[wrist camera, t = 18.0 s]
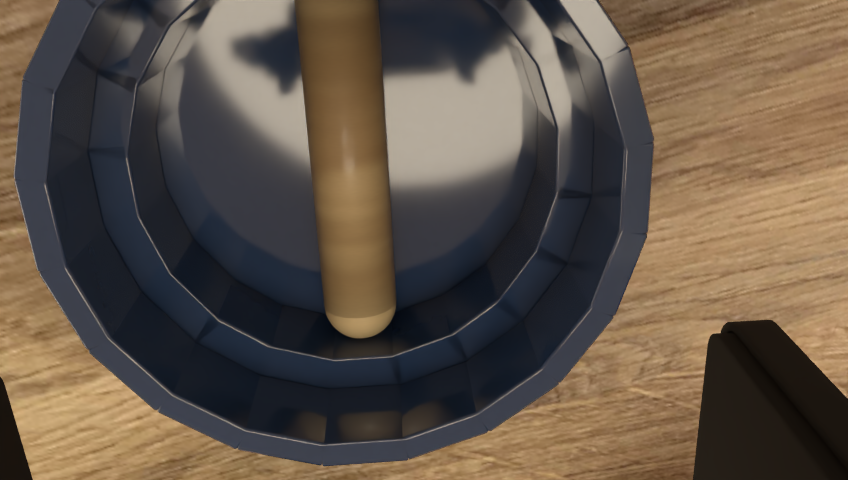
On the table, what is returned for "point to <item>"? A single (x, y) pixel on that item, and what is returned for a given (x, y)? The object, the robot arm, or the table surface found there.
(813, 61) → the table surface
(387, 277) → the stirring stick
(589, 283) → the bowl
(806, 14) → the table surface
